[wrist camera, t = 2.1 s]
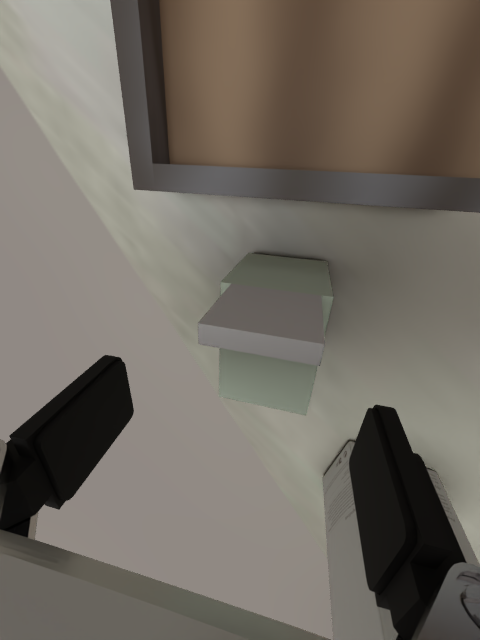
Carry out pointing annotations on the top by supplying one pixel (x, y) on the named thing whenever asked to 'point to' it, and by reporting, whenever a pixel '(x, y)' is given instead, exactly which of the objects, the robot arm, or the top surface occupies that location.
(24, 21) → the top surface
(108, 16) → the top surface
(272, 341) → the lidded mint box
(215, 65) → the brown wooden tray
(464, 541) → the skincare box
